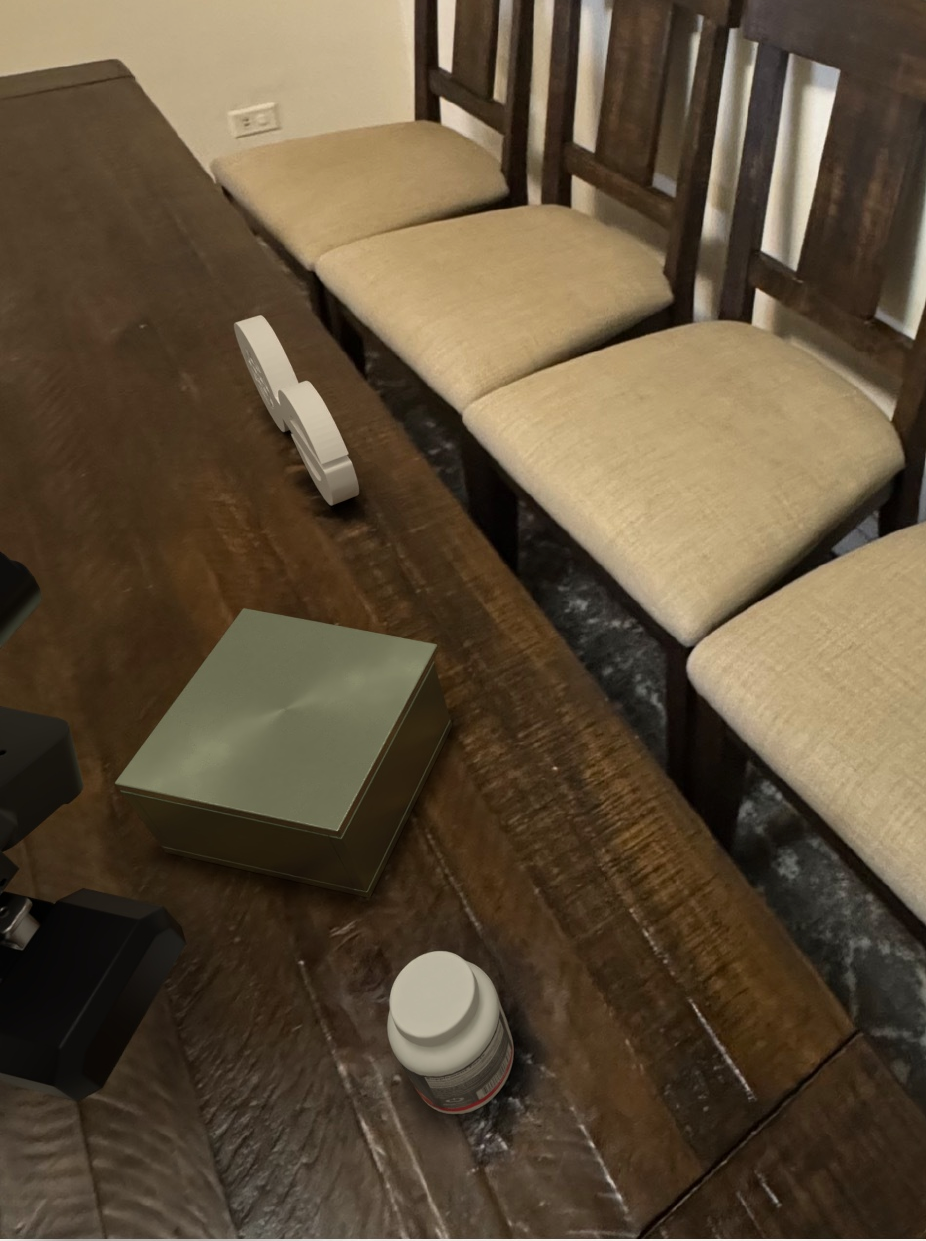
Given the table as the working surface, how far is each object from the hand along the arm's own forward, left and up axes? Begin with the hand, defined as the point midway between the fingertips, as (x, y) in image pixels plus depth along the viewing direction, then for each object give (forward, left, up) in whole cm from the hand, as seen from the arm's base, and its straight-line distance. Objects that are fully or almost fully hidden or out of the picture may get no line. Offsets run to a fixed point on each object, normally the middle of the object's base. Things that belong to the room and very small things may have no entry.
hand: (15, 1023), depth 43 cm
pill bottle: (+12, -12, -13) cm, 21 cm away
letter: (+39, +36, -13) cm, 55 cm away
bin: (+18, +8, -13) cm, 24 cm away
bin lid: (+18, +8, -6) cm, 21 cm away
